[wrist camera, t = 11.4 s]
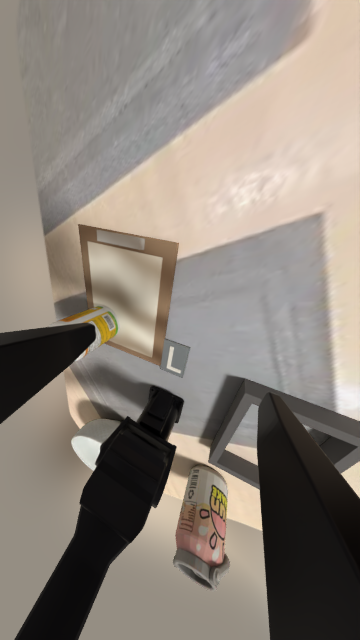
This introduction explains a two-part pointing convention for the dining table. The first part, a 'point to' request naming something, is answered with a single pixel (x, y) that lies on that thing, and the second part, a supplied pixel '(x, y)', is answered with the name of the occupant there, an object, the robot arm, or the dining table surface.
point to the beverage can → (203, 528)
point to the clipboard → (130, 286)
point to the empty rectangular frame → (346, 434)
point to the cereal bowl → (92, 439)
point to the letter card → (174, 357)
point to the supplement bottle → (102, 321)
